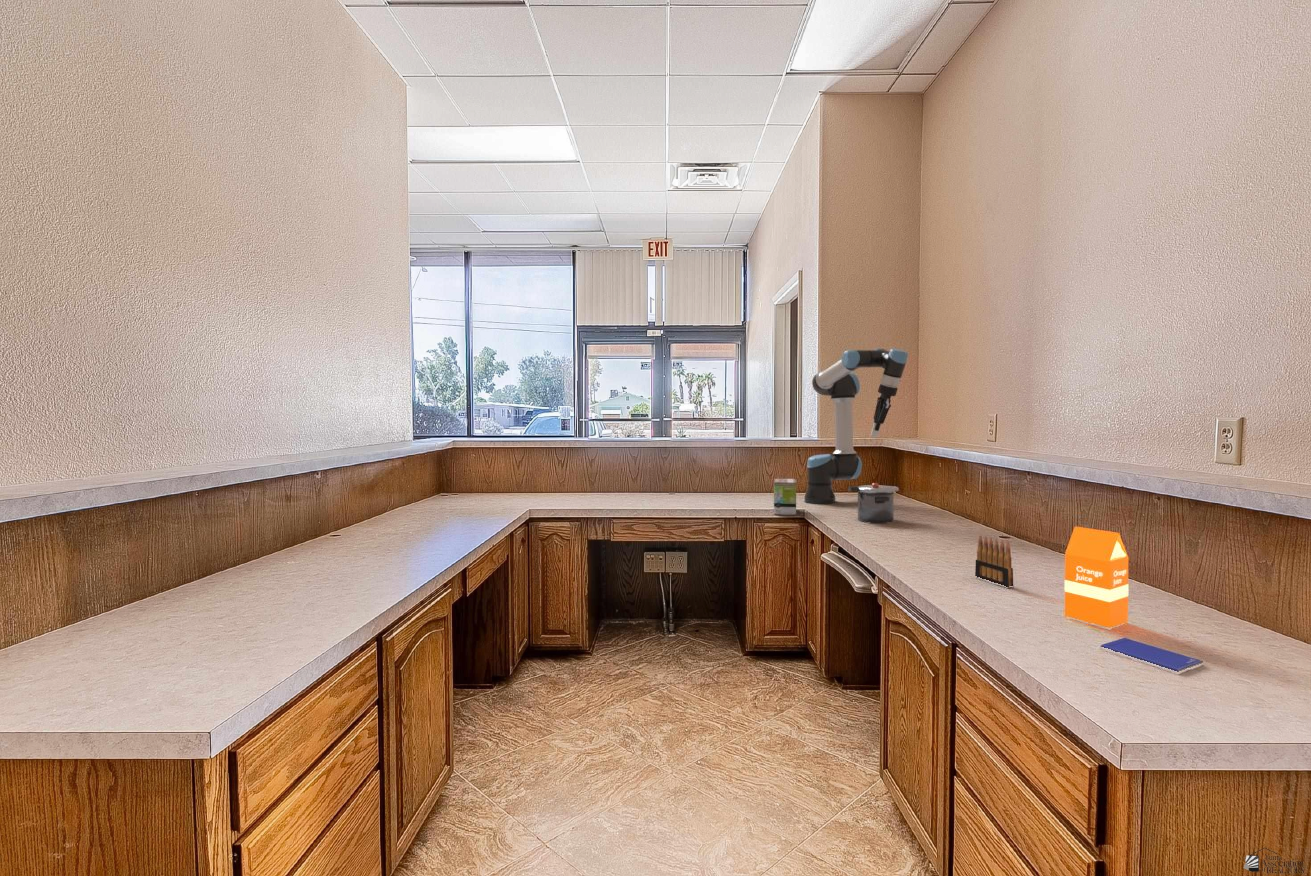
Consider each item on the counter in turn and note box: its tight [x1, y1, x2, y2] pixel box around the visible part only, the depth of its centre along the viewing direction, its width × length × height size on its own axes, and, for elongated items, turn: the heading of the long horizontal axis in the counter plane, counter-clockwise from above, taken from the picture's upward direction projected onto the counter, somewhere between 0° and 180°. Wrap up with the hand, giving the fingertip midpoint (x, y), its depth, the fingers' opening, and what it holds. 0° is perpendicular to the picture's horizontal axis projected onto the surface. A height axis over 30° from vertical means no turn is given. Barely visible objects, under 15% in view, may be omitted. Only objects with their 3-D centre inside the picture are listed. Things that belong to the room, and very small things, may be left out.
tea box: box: [773, 478, 797, 516], centre depth 274 cm, size 15×10×15 cm, turn 168°
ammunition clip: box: [974, 534, 1014, 587], centre depth 159 cm, size 11×2×12 cm, turn 17°
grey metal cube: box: [857, 492, 895, 524], centre depth 249 cm, size 18×14×12 cm
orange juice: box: [1064, 526, 1129, 628], centre depth 130 cm, size 8×9×20 cm
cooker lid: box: [848, 482, 900, 494], centre depth 249 cm, size 15×19×3 cm
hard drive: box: [1100, 637, 1204, 672], centre depth 111 cm, size 2×8×12 cm
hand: (873, 436), depth 265 cm, fingers closed
